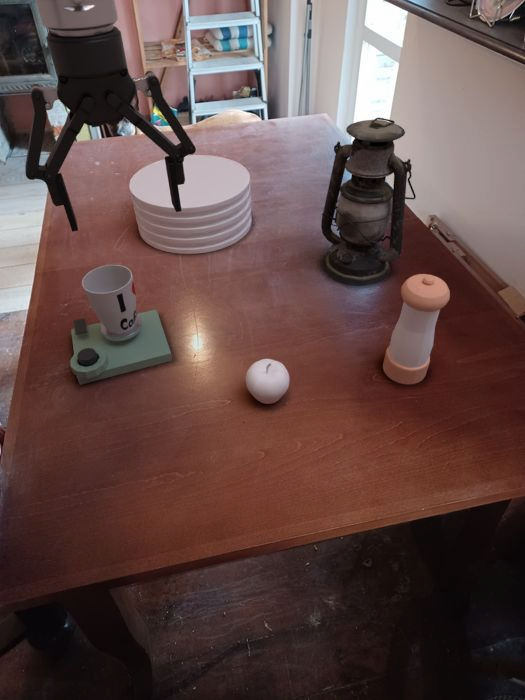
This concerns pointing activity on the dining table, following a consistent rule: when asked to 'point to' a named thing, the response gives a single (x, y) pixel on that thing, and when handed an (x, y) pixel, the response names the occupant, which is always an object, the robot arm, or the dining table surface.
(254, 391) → the plain white apple
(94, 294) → the cup
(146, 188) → the plate stack
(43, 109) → the robot arm
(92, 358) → the button
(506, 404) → the dining table surface
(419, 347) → the salt shaker
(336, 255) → the lantern
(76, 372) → the scale
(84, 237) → the dining table surface
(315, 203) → the dining table surface
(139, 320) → the pan
